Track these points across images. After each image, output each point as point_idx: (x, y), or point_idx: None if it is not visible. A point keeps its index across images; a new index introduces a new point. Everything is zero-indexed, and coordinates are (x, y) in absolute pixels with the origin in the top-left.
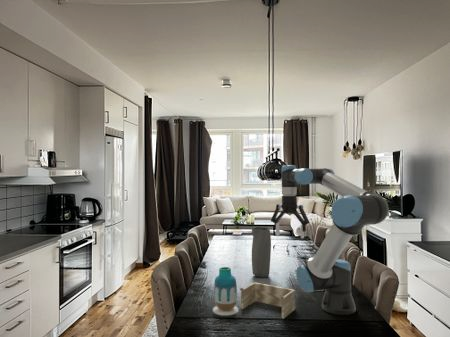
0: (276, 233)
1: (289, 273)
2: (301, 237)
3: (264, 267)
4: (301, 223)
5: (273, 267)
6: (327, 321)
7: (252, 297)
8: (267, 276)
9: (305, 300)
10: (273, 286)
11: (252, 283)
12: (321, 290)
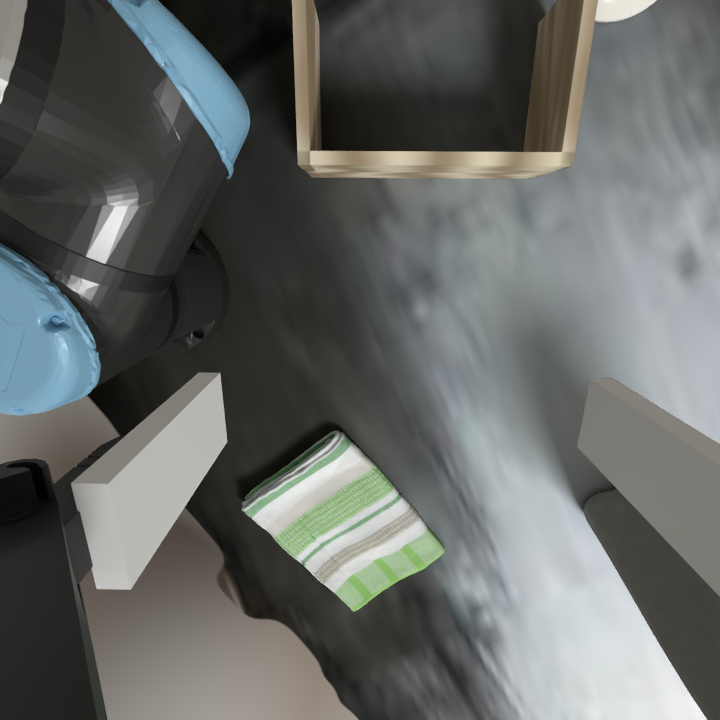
0: (625, 391)
1: (509, 591)
2: (205, 378)
3: (626, 522)
4: (57, 521)
5: (606, 634)
6: None
7: (535, 128)
8: (587, 500)
9: (316, 307)
10: (433, 153)
11: (575, 135)
12: (304, 452)
